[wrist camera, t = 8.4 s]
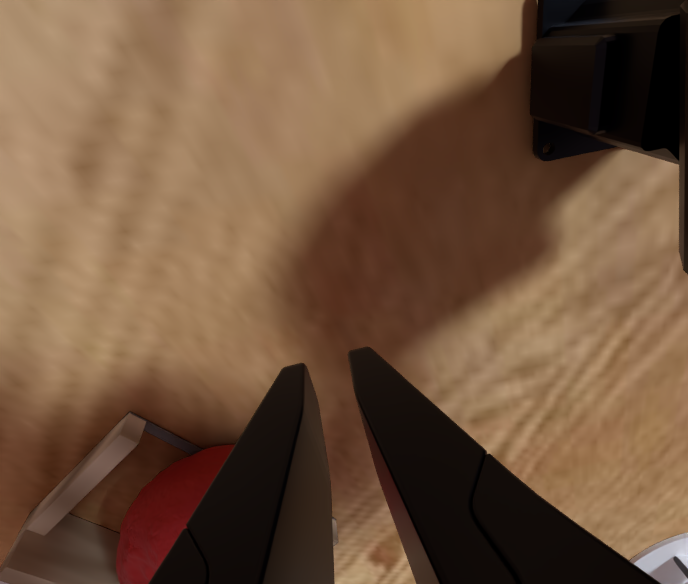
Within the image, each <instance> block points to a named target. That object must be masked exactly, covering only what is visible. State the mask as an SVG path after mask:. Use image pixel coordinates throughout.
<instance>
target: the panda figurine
mask: <svg viewBox="0 0 688 584" xmlns="http://www.w3.org/2000/svg"><path fill="white" fill-rule="evenodd" d="M629 561H630V562H632V563H633V564H634V565H636V566H637V567H639V568H640V569H641V570H643V571H644V572H646V573H647V574H649V575H650V576H651V577H653V578H654V579H656V580H657V581H658V582H660V583H661V584H688V532H687V533H683V534H680V535H676V536H673V537H670V538H668V539H665V540H663V541H661V542H659V543H656V544H654V545H652V546H650V547H649V548H647V549H645V550H643V551H642V552H640V553H639V554H637V555H636V556H635V557H633V558H632V559H631V560H629Z"/></svg>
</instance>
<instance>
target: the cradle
mask: <svg viewBox="0 0 688 584" xmlns="http://www.w3.org/2000/svg"><path fill="white" fill-rule="evenodd" d="M143 430H144V431H146V432H148V433H150V434H152V435H154V436H156V437H158V438H160V439H162V440H163V441H165V442H167V443H169V444H171V445H173V446H175V447H177V448H179V449H181V450H183V451H185V452H187V453H189V454H191V455H193V454H195V453H198V452H200V451H202V450H203V449H201V448H199V447H197V446H195V445H193V444H191V443H189V442H187V441H186V440H184V439H182V438H180V437H178V436H176V435H174V434H172V433H170V432H168V431H166V430H164V429H163V428H161V427H159V426H157V425H155V424H153V423H151V422H149V421H147V420H145V419H143V418H141V417H140V416H138V415H136V414H134V413H132V412H129V413H128V414H127V415H126V416H125V417H124V418H123V419H122V420H121V421H120V422H119V423H118V424H117V425H116V426H115V427H114V428H113V429H112V430H111V431H110V432H109V433H108V434H107V435H106V436H105V437H104V438H103V439H102V440H101V441H100V442H99V443H98V444H97V445H96V446H95V447H94V448H93V449H92V451H91V452H90V453H89V454H88V455H87V456H86V457H85V458H84V459H83V460H82V461H81V462H80V463H79V464H78V465H77V466H76V467H75V468H74V469H73V470H72V471H71V472H70V473H69V474H68V475H67V476H66V477H65V478H64V479H63V480H62V481H61V482H60V483H59V484H58V485H57V486H56V487H55V488H54V489H53V490H52V491H51V492H50V493H49V494H48V495H47V496H46V497H45V499H44V500H43V501H42V502H41V503H40V504H39V505H38V506H37V507H36V508H35V509H34V510H33V511H32V512H31V513H30V514H29V516H28V517H27V519H26V521H25V523H24V525H23V527H22V528H21V530H20V532H19V534H18V536H17V538H16V540H15V541H14V543H13V545H12V547H11V549H10V551H9V552H8V554H7V556H6V558H5V560H4V562H3V564H2V565H1V567H0V581H3V582H6V583H9V584H120V582H119V579H118V575H117V572H116V557H117V547H118V543H119V539H120V534H119V533H116V532H114V531H111V530H109V529H106V528H104V527H101V526H98V525H96V524H93V523H91V522H88V521H86V520H83V519H81V518H78V517H75V516H73V515H70V514H68V512H69V511H70V510H71V509H72V508H73V507H75V506H76V505H77V504H78V503H79V502H80V501H81V500H82V499H83V498H84V497H85V496H86V495H87V494H88V493H89V492H90V491H91V490H92V489H93V488H94V487H95V486H96V485H97V484H98V483H99V482H100V481H101V480H102V479H103V478H104V477H105V476H106V475H107V474H108V473H109V472H110V471H111V470H112V469H113V468H114V467H115V466H116V465H117V464H118V463H119V462H120V461H121V460H123V459H124V458H125V457H126V456H127V455H128V454H129V453H130V452H131V451H132V450H133V449H134V448H135V447H136V446H137V445H138V444H139V441H140V438H141V435H142V433H143ZM332 527H333V546H335V545H336V544H337V543H339V542H338V533H337V524H336V519H335V518H333V517H332Z"/></svg>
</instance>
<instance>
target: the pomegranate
mask: <svg viewBox="0 0 688 584" xmlns="http://www.w3.org/2000/svg"><path fill="white" fill-rule="evenodd" d="M234 446H235V445H220V446H215V447H210V448H207V449H204V450H202V451H200V452H198V453H195V454H193V455H191V456H189V457H186V458H183V459H181V460H178V461H176V462H174V463H173V464H171V465H170V466H168V467H167V468H166V469H164V470H163V471H161V472H160V473H159V474H158V475H157V476H156V477H155V478H154V479H153V480H152V481H151V482H149V483H148V484H147V485H146V486H145V487H143V488H142V490H141V491H140V493H139V495H138V497H137V499H136V500H135V501H134V502H133V503H132V505H131V507H130V508H129V510H128V511H127V513H126V515H125V518H124V520H123V522H122V524H121V529H120V539H119V543H118V547H117V557H116V572H117V575H118V579H119V582H120V584H148V583H149V581H150V580H151V578H152V577H153V575H154V574H155V572H156V571H157V569H158V568H159V566H160V564H161V563H162V561H163V560H164V558H165V557H166V555H167V554H168V552H169V550H170V549H171V547H172V546H173V544H174V542H175V541H176V539H177V538H178V536H179V534H180V533H181V531H182V530H183V529H184V528H187V527H186V523H187V522H188V520H189V519H190V517H191V515H192V514H193V512H194V510H195V509H196V507H197V506H198V504H199V502H200V501H201V499H202V497H203V496H204V494H205V493H206V491H207V489H208V488H209V486H210V485H211V483H212V481H213V480H214V478H215V476H216V475H217V473H218V472H219V470H220V468H221V467H222V465H223V464H224V462H225V460H226V459H227V457H228V455H229V454H230V452H231V451H232V449H233V447H234Z"/></svg>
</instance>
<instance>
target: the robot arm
mask: <svg viewBox="0 0 688 584" xmlns="http://www.w3.org/2000/svg"><path fill="white" fill-rule="evenodd" d="M530 115H531V116H533V117H534V123H533V154H534V156H535V157H536V158H538V159H540V160H543V161H551V160H556V159H561V158H565V157H570V156H575V155H580V154H585V153H589V152H594V151H599V150H604V149H609V148H614V147H621V148H624V149H628V150H631V151H635V152H638V153H641V154H645V155H648V156H651V157H655V158H658V159H662V160H665V161H668V162H672V163H675V164H678V165H679V253H680V257H681V261H682V266H683V270H684V271H685V272H686V273H687V274H688V0H538V16H537V40H536V42H535V43H534V45H533V47H532V64H531V94H530ZM547 143H550V148H549V150H548V151H547V152H545V153H543V148H544V146H545V145H546V144H547ZM348 359H349V365H350V370H351V376H352V382H353V387H354V392H355V396H356V399H357V403H358V407H359V410H360V414H361V418H362V421H363V425H364V429H365V432H366V436H367V439H368V443H369V447H370V450H371V454H372V458H373V461H374V465H375V469H376V472H377V475H378V478H379V481H380V484H381V487H382V490H383V492H384V495H385V498H386V501H387V503H388V506H389V509H390V512H391V514H392V517H393V520H394V523H395V525H396V528H397V531H398V534H399V537H400V539H401V542H402V545H403V548H404V550H405V553H406V556H407V559H408V561H409V564H410V567H411V570H412V572H413V575H414V578H415V581H416V583H417V584H661V583H660V582H658V581H657V580H656V579H654V578H653V577H651V576H650V575H649V574H647V573H646V572H644V571H643V570H641V569H640V568H639V567H637V566H636V565H634V564H633V563H632V562H630V561H629V560H627V559H626V558H625V557H623V556H622V555H620V554H619V553H618V552H616V551H615V550H613V549H612V548H611V547H609V546H608V545H606V544H605V543H603V542H602V541H601V540H599V539H598V538H596V537H595V536H594V535H592V534H591V533H589V532H588V531H587V530H585V529H584V528H582V527H581V526H580V525H578V524H577V523H575V522H574V521H573V520H571V519H570V518H569V517H567V516H566V515H565V514H563V513H562V512H560V511H559V510H558V509H556V508H555V507H554V506H552V505H551V504H550V503H548V502H547V501H546V500H544V499H543V498H542V497H540V496H539V495H538V494H537V493H535V492H534V491H533V490H532V489H531V488H529V487H528V486H527V485H526V484H525V483H523V482H522V481H521V480H520V479H519V478H517V477H516V476H515V475H514V474H513V473H511V472H510V471H509V470H508V469H507V468H506V467H504V466H503V465H502V464H501V463H500V462H499V461H498V460H497V459H496V458H494V457H493V456H492V455H491V454H487V451H486V450H485V449H484V448H483V447H482V446H481V445H479V444H478V443H477V442H476V441H475V440H474V439H473V438H472V437H470V436H469V435H468V434H467V433H466V432H465V431H464V430H463V429H461V428H460V427H459V426H458V425H457V424H456V423H455V422H454V421H452V420H451V419H450V418H449V417H448V416H447V415H446V414H445V413H443V412H442V411H441V410H440V409H439V408H438V407H437V406H436V405H434V404H433V403H432V402H431V401H430V400H429V399H428V398H427V397H425V396H424V395H423V394H422V393H421V392H420V391H419V390H418V389H416V388H415V387H414V386H413V385H412V384H411V383H410V382H409V381H407V380H406V379H405V378H404V377H403V376H402V375H401V374H400V373H398V372H397V371H396V370H395V369H394V368H393V367H392V366H391V365H389V364H388V363H387V362H386V361H385V360H384V359H383V358H382V357H380V356H379V355H378V354H377V353H376V352H375V351H374V350H373V349H371V348H370V347H363V348H359V349H355V350H351V351H349V352H348ZM186 527H187V528H184V529H183V530H182V531H181V533H180V534H179V536H178V538H177V539H176V541H175V542H174V544H173V546H172V547H171V549H170V550H169V552H168V554H167V555H166V557H165V558H164V560H163V561H162V563H161V564H160V566H159V568H158V569H157V571H156V572H155V574H154V575H153V577H152V578H151V580H150V581H149V583H148V584H334V556H333V527H332V498H331V482H330V474H329V466H328V460H327V454H326V447H325V441H324V435H323V428H322V422H321V416H320V409H319V404H318V399H317V396H316V393H315V390H314V387H313V384H312V381H311V378H310V375H309V372H308V369H307V367H306V365H305V364H304V363H299V364H295V365H291V366H287V367H284V368H283V369H282V370H281V371H280V373H279V375H278V376H277V378H276V379H275V381H274V383H273V384H272V386H271V388H270V389H269V391H268V392H267V394H266V396H265V397H264V399H263V400H262V402H261V404H260V405H259V407H258V409H257V410H256V412H255V413H254V415H253V417H252V418H251V420H250V421H249V423H248V425H247V426H246V428H245V430H244V431H243V433H242V434H241V436H240V438H239V439H238V441H237V442H236V444H235V446H234V447H233V449H232V451H231V452H230V454H229V455H228V457H227V459H226V460H225V462H224V464H223V465H222V467H221V468H220V470H219V472H218V473H217V475H216V476H215V478H214V480H213V481H212V483H211V485H210V486H209V488H208V489H207V491H206V493H205V494H204V496H203V497H202V499H201V501H200V502H199V504H198V506H197V507H196V509H195V510H194V512H193V514H192V515H191V517H190V519H189V520H188V522H187V523H186Z"/></svg>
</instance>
